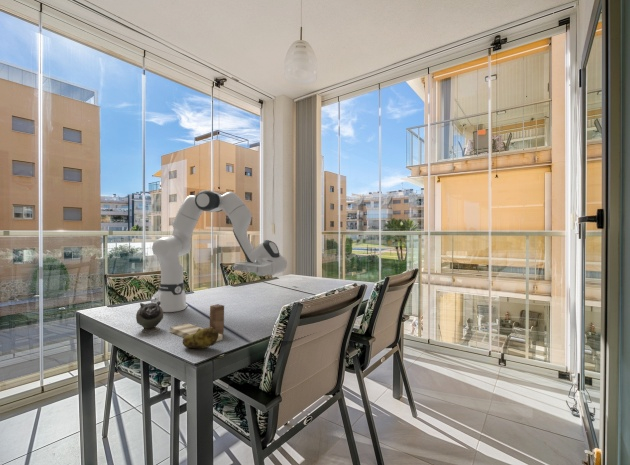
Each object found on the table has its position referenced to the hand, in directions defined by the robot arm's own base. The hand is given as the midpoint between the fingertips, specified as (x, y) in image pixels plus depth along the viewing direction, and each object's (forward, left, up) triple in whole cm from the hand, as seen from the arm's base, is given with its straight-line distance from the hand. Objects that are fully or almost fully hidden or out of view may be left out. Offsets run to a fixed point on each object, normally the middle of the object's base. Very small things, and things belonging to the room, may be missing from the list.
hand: (239, 269), depth 145 cm
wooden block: (+2, -17, -26) cm, 31 cm away
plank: (-3, -20, -26) cm, 33 cm away
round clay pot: (-24, -28, -26) cm, 45 cm away
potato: (+11, -27, -26) cm, 39 cm away
